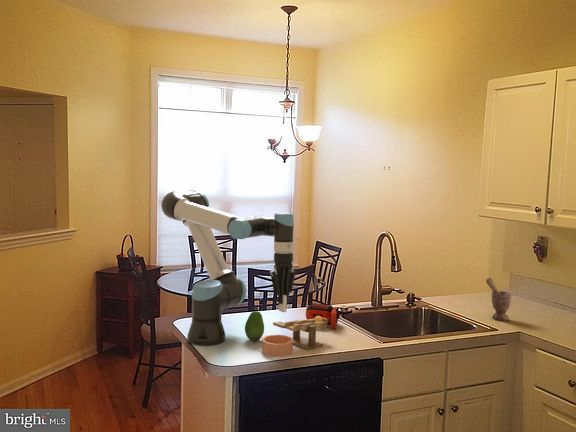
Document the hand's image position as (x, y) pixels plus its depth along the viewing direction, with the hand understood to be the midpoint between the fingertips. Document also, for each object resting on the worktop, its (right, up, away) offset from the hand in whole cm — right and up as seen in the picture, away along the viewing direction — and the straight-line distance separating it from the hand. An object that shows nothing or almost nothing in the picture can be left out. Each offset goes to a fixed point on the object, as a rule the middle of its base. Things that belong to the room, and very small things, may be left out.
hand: (282, 311), depth 211 cm
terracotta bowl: (-2, -14, -8) cm, 16 cm away
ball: (+14, -5, +6) cm, 16 cm away
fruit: (-12, -13, +4) cm, 18 cm away
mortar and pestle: (+103, -12, +46) cm, 113 cm away
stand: (+8, -13, +1) cm, 16 cm away
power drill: (+17, -12, +29) cm, 36 cm away
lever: (+7, -8, +3) cm, 11 cm away
